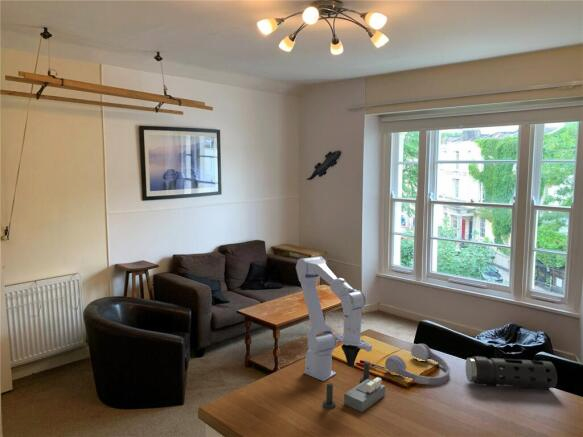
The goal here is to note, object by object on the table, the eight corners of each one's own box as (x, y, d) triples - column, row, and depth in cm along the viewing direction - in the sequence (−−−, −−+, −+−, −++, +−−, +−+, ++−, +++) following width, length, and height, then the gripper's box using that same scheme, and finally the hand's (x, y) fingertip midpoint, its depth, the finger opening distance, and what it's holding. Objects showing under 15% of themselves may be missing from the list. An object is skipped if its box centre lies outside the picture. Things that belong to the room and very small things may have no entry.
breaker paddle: (366, 391, 143) (366, 384, 142) (370, 387, 145) (371, 380, 145) (370, 392, 142) (370, 385, 141) (375, 389, 144) (375, 382, 144)
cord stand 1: (320, 405, 141) (321, 385, 140) (328, 400, 144) (328, 380, 143) (330, 410, 139) (331, 389, 138) (337, 405, 142) (338, 384, 141)
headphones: (381, 371, 166) (428, 395, 151) (383, 353, 165) (430, 376, 150) (414, 355, 181) (460, 376, 166) (416, 339, 180) (462, 358, 165)
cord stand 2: (358, 381, 157) (358, 363, 157) (364, 377, 160) (365, 359, 160) (367, 385, 155) (368, 366, 154) (373, 381, 158) (374, 362, 157)
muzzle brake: (556, 396, 149) (559, 368, 148) (471, 391, 152) (473, 362, 151) (543, 383, 159) (545, 356, 157) (463, 378, 162) (465, 351, 160)
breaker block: (344, 403, 142) (344, 385, 142) (367, 388, 153) (367, 371, 152) (362, 412, 138) (362, 393, 137) (384, 395, 148) (385, 377, 147)
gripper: (327, 324, 148) (326, 362, 150) (364, 336, 139) (362, 376, 140) (339, 319, 153) (338, 355, 155) (375, 330, 144) (374, 369, 146)
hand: (350, 365), depth 148 cm, fingers closed
